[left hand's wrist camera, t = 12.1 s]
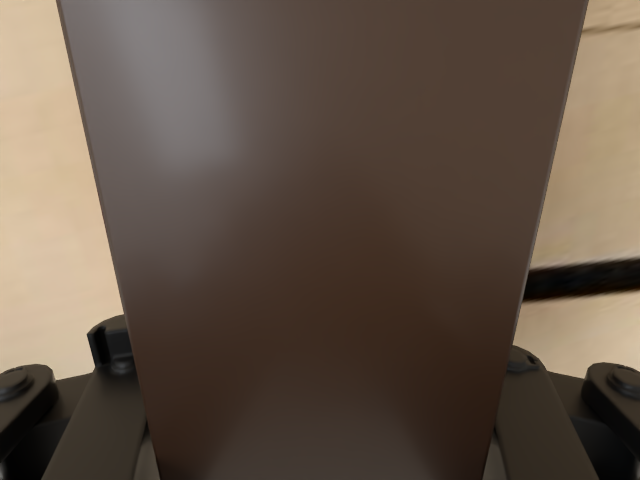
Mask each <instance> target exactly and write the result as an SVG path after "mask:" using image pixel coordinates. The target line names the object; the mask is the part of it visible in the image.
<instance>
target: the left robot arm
mask: <svg viewBox="0 0 640 480" xmlns="http://www.w3.org/2000/svg"><path fill="white" fill-rule="evenodd" d="M87 337H88V341H89V345H90V348H91V352H92V356H93V360H94V364H95V369H94V371H93V373H89V374H85V375H80V376H76V377H71V378H66V379H61V380H55V377H54V374H53V371H52V369H50V368H49V367H48V366H47V365H40V364H33V365H25V366H20V367H16V368H12V369H9V370H7V371H5V372H3V373H1V374H0V480H160V477H159V472H158V468H157V463H156V458H155V454H154V449H153V445H152V440H151V435H150V431H149V426H148V422H147V417H146V412H145V408H144V403H143V399H142V394H141V389H140V385H139V380H138V376H137V371H136V366H135V362H134V357H133V353H132V348H131V343H130V339H129V334H128V330H127V325H126V320H125V316H124V314H123V315H119V316H115V317H112V318H110V319H107V320H104V321H103V322H101V323H99V324H98V325H96V326H94V327H93V328H92V329H91V330H90V331H89V332H88V333H87ZM483 480H640V372H639V371H637V370H635V369H633V368H630V367H627V366H626V367H625V366H624V365H620V364H613V363H605V362H602V363H595V364H593V365H591V366H590V367H589V368H588V370H587V373H586V376H585V379H582V378H577V377H572V376H567V375H562V374H558V373H553V372H550V371H547V370H546V368H545V366H544V365H543V364H542V362H541V361H540V360H539V358H537V357H536V356H534V355H533V354H532V353H530V352H529V351H527V350H524V349H522V348H520V347H518V346H514V345H512V349H511V353H510V358H509V362H508V367H507V371H506V376H505V380H504V385H503V389H502V394H501V398H500V403H499V407H498V412H497V416H496V421H495V425H494V430H493V434H492V439H491V443H490V448H489V452H488V457H487V461H486V466H485V470H484V475H483Z"/></svg>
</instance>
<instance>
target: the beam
mask: <svg viewBox="0 0 640 480" xmlns="http://www.w3.org/2000/svg"><path fill="white" fill-rule="evenodd" d="M588 1H589V0H56V3H57V7H58V12H59V17H60V21H61V26H62V30H63V35H64V40H65V44H66V49H67V53H68V58H69V63H70V67H71V72H72V76H73V81H74V86H75V90H76V95H77V100H78V104H79V109H80V113H81V118H82V123H83V127H84V132H85V136H86V141H87V146H88V150H89V155H90V159H91V164H92V169H93V173H94V178H95V182H96V187H97V192H98V196H99V201H100V205H101V210H102V215H103V219H104V224H105V228H106V233H107V238H108V242H109V247H110V251H111V256H112V261H113V265H114V270H115V274H116V279H117V284H118V288H119V293H120V297H121V302H122V307H123V311H124V316H125V320H126V325H127V330H128V334H129V339H130V343H131V348H132V353H133V357H134V362H135V366H136V371H137V376H138V380H139V385H140V389H141V394H142V399H143V403H144V408H145V412H146V417H147V422H148V426H149V431H150V435H151V440H152V445H153V449H154V454H155V458H156V463H157V468H158V472H159V477H160V480H483V475H484V470H485V466H486V461H487V457H488V452H489V448H490V443H491V439H492V434H493V430H494V425H495V421H496V416H497V412H498V407H499V403H500V398H501V394H502V389H503V385H504V380H505V376H506V371H507V367H508V362H509V358H510V353H511V349H512V344H513V340H514V335H515V331H516V326H517V322H518V317H519V313H520V308H521V303H522V299H523V294H524V290H525V285H526V281H527V276H528V272H529V267H530V263H531V258H532V254H533V249H534V245H535V240H536V236H537V231H538V227H539V222H540V218H541V213H542V209H543V204H544V200H545V195H546V191H547V186H548V182H549V177H550V173H551V168H552V164H553V159H554V155H555V150H556V146H557V141H558V136H559V132H560V127H561V123H562V118H563V114H564V109H565V105H566V100H567V96H568V91H569V87H570V82H571V78H572V73H573V69H574V64H575V60H576V55H577V51H578V46H579V42H580V37H581V33H582V28H583V24H584V19H585V15H586V10H587V6H588Z"/></svg>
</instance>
